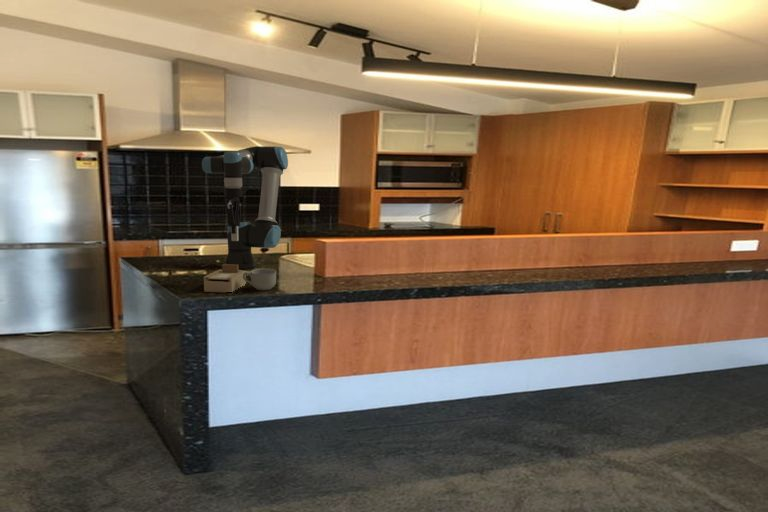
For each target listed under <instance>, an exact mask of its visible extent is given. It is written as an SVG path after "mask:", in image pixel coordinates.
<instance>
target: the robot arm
mask: <svg viewBox="0 0 768 512" xmlns="http://www.w3.org/2000/svg"><path fill="white" fill-rule="evenodd" d="M288 159H289V158H288V154H287V151H286V149H285V148H284V147H282V146H267V145H266V146H263V145H262V146H260V145H259V146H257V145H256V146H250V147H246V148H242V149H239V150H237V151H225V152H223V155H218V156H205V157H204V158H202V160H201V169H202V171H203V172H204V173H206V174H223V175H224V177H223V178H224V179H223V182H224V187H225V188H224V196H225V197H227V198H228V199H227V203H226V204H225V209H226V215H227V223H228V225H227V231H226V234H227V237H226V238H227V255H226V259H225V261H224V262H225V263H224V264H234V265H238V268H239V270H247V269H252V268H255V267H256V261H255V258H254V256H253V253H252V248H255V249H257V248H262V249H273V248H276V247H277V246H278V245H279V243H280V241H281V236H282V235H281V234H282V233H281V232H282V229H281V227H280V226H279V223H278V222H277V220H276V215H277V206H278V205H277V204H278V196H279V184H280V178H281V177H280V176H282V175H283V174H284V170H286V169H288V166H289V160H288ZM254 169H260V172H261V174H262V181H261V190H260V198H259V209H258V217H257V218H256V219H255V220H254V224H252V223H251V221H241V217H242V216H241V215H242V206H243V203H242V202H241V201H240V198H241V197H243V188H242V187H243V175H247V174H250V173H251V172H252V171H253V170H254Z"/></svg>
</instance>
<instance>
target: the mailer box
mask: <svg viewBox="0 0 768 512" xmlns="http://www.w3.org/2000/svg"><path fill="white" fill-rule="evenodd" d="M221 271H222V269H217V270H215V271H214V272H212V273H209V274H207V275H205V276H203V291H204V292H205V293H206V292H207V293H209V292H210V293H226V292H232V293H234V292H236V291H237V290H239V289H241V288H242V286H243V287H244V286H246V285H247V282H246V281H245V280H244V279H243V274H244V273H245V272H247V271H246V269H240V270H239V272H238V273H236V274H234V275H232V276H230V277H228V279H230V280H221V279H207V278H208V277H210V276H212V275H215V274H217V273H219V272H221ZM246 275H247V274H246ZM246 275H245V278H246V279H247V277H246ZM245 284H246V285H245ZM240 287H241V288H240ZM238 288H239V289H238ZM235 290H236V291H235ZM233 291H234V292H233Z"/></svg>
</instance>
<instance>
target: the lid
mask: <svg viewBox="0 0 768 512" xmlns="http://www.w3.org/2000/svg"><path fill="white" fill-rule="evenodd" d="M221 270H222V271H221V272H219V273H217V274H215V275H212V276H210V277H208V278H207V279H221V280H230V279H228V277H230V276H232V275H234V274H236V273H238V272H239V271H240V269H239V268H238V265H234V264H225V263H222V264H221Z"/></svg>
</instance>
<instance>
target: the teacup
mask: <svg viewBox="0 0 768 512" xmlns="http://www.w3.org/2000/svg"><path fill="white" fill-rule="evenodd" d="M245 275H248V276H249V277H250V280H249V279H248V278H247V277H246V278H245ZM243 279H244V280H245V281H246V283H248V284H249V285H250V286H252V287H253V288H255V289H256V290H257V291H269V290H271V289H272V288H274V287H275V286H276V285H277V284H276V283H277V270H276V269H274V268H254V269H252V270H251V271H246V272H245V273H244V274H243Z"/></svg>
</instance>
